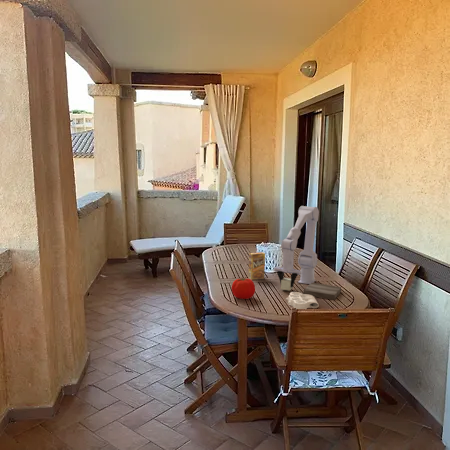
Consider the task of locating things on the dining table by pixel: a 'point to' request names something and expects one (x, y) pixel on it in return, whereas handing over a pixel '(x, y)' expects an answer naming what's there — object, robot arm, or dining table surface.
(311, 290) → the taupe base
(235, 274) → the dining table surface
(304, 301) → the white brass knuckles
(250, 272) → the candy box
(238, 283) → the tomato
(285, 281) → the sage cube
